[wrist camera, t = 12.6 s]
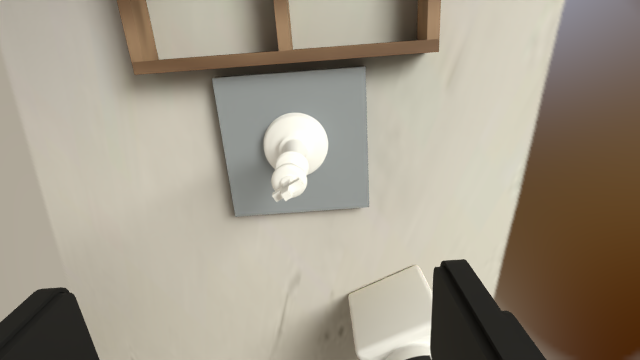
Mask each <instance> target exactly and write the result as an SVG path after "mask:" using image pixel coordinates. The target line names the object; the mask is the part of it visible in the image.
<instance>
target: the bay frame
mask: <svg viewBox="0 0 640 360" xmlns="http://www.w3.org/2000/svg"><path fill="white" fill-rule="evenodd" d="M273 1H274V11H275V20H276V30H277V39H278V49H279V51H269V52H256V53H243V54H230V55H216V56H203V57H190V58H177V59H164V60H159V59H158V54H157V50H156V45H155V41H154V36H153V31H152V27H151V22H150V17H149V13H148V8H147V3H146V0H117V4H118V8H119V12H120V16H121V20H122V24H123V29H124V33H125V37H126V41H127V45H128V49H129V53H130V58H131V62H132V66H133V70H134V74H135V75H138V74H151V73H164V72H178V71H191V70H204V69H217V68H230V67H244V66H257V65H270V64H283V63H296V62H310V61H323V60H336V59H349V58H362V57H376V56H389V55H402V54H415V53H428V52H439V33H440V8H441V0H418V16H417V40H413V41H400V42H387V43H374V44H361V45H348V46H335V47H321V48H308V49H295V50H293V46H292V35H291V24H290V13H289V2H288V0H273Z"/></svg>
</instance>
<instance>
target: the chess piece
mask: <svg viewBox="0 0 640 360" xmlns="http://www.w3.org/2000/svg"><path fill="white" fill-rule="evenodd" d="M327 151H328V138H327V134H326V132H325V130H324V128H323V127H322V125H321V124H320V123H319V122H318V121H317V120H316V119H314V118H313V117H311V116H309V115H306V114H303V113H288V114H284V115H282V116H280V117H278V118H276V119H275V120H274V121H273V122H272V123H271V124H270V125H269V127H268V128H267V130H266V133H265V136H264V152H265V156H266V158H267V160H268V162H269V163H270V165H271V166H272V167H273V168H274V169H275V171H274V172H273V175H272V178H271V183H272V187H273V189H274V190H275V192H273V193H272V197H273V198H274V200H275V201H276V202H278V201H279V200H281V199H284V200H285V201H287V200H289V199H290V198H294V197H297V196H299V195H300V194H302V193H303V192H304V190H305V189H306V186H307V177H306V176H307V175H308V174H311V173H312V172H314V171H315V170H317V169H318V168H319V167H320V166H321V164H322V163H323V161H324V159H325V157H326V155H327Z"/></svg>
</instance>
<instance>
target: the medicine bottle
mask: <svg viewBox="0 0 640 360" xmlns="http://www.w3.org/2000/svg"><path fill="white" fill-rule="evenodd" d="M432 294H433V293H432V291H431V289H430V287H429V285H428V283H427V281H426V279H425V277H424V275H423V273H422V271H421V269H420V267H419V266H418V265H414V266H412V267H409V268H407V269H405V270H403V271H400V272H398V273H396V274H394V275H391V276H389V277H387V278H384V279H382V280H380V281H378V282H375V283H373V284H371V285H368V286H366V287H364V288H362V289H359V290H357V291H355V292H353V293H350V294H349V296H348V300H349V307H350V315H351V322H352V329H353V337H354V344H355V352H356V355H357V356H358V358H359V360H432V358H431V353H430V337H431V316H432Z"/></svg>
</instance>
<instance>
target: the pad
mask: <svg viewBox="0 0 640 360" xmlns="http://www.w3.org/2000/svg"><path fill="white" fill-rule="evenodd" d="M212 82H213V88H214V93H215V99H216V105H217V111H218V117H219V123H220V129H221V135H222V141H223V147H224V152H225V158H226V164H227V170H228V176H229V182H230V188H231V194H232V200H233V206H234V211H235V217H237V216H251V215H265V214H279V213H293V212H307V211H321V210H335V209H349V208H363V207H369V180H368V142H367V104H366V67H365V66H357V67H343V68H330V69H317V70H304V71H290V72H277V73H264V74H251V75H238V76H224V77H214V78H212ZM288 113H303V114H306V115H309V116H311V117H313V118H314V119H316V120H317V121H318V122H319V123H320V124H321V125H322V127H323V128H324V130H325V132H326V134H327V138H328V151H327V155H326V157H325V159H324V161H323V163H322V164H321V166H320V167H319V168H318V169H317V170H315V171H314V172H312V173H311V174H308V175H307V176H306V177H307V186H306V189H305V190H304V192H303V193H302V194H300V195H299V196H297V197H294V198H290V199H289V200H287V201H285V200H284V199H281V200H279V201H278V202H276V201H275V200H274V198H273V197H272V193H273V192H275V190H274V189H273V187H272V183H271V178H272V175H273V172H274V171H275V169H274V168H273V167H272V166H271V165H270V163H269V162H268V160H267V158H266V156H265V152H264V136H265V133H266V130H267V128H268V127H269V125H270V124H271V123H272V122H273V121H274V120H275V119H276V118H278V117H280V116H282V115H284V114H288Z"/></svg>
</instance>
